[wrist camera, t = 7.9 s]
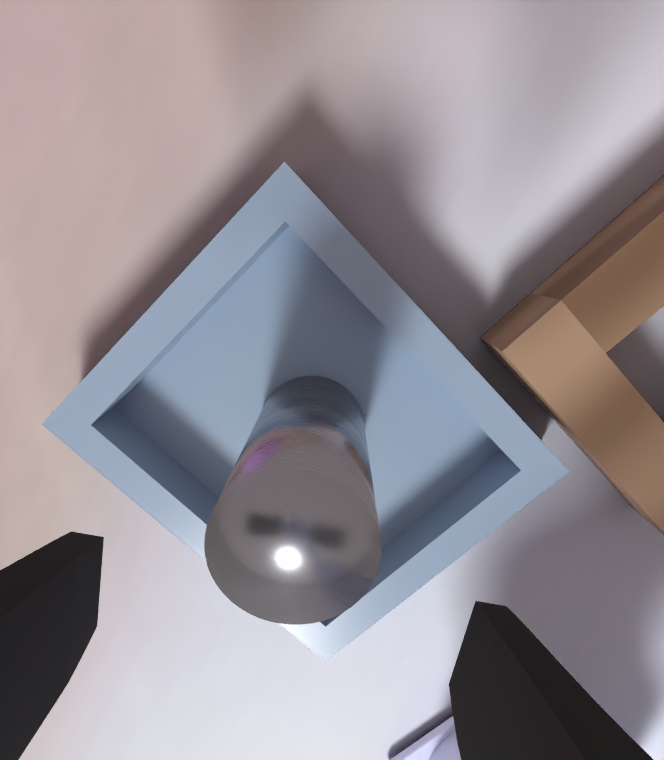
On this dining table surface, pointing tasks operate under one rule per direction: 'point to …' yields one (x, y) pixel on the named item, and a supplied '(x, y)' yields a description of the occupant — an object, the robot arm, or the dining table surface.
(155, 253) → the dining table surface
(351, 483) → the pin
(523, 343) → the socket block
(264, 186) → the tray
